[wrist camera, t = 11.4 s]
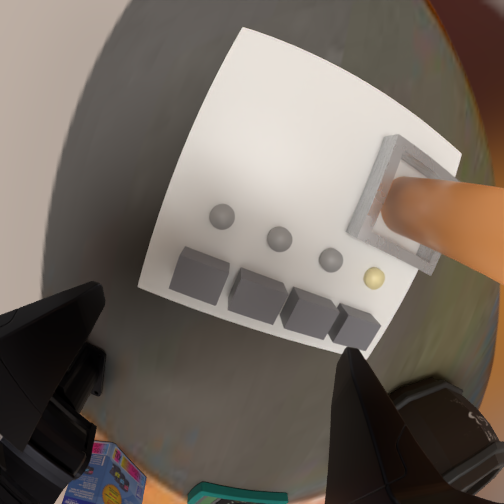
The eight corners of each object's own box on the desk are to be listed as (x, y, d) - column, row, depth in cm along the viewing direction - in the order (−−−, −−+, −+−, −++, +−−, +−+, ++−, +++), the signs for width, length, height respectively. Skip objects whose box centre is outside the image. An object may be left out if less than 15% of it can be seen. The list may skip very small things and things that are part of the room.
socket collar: (417, 267, 20) (430, 275, 18) (345, 231, 19) (356, 238, 17) (450, 185, 18) (466, 187, 16) (384, 136, 17) (398, 133, 15)
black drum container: (327, 472, 30) (352, 556, 15) (347, 395, 25) (403, 519, 10) (429, 439, 31) (467, 503, 16) (469, 356, 26) (538, 428, 11)
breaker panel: (361, 352, 23) (375, 373, 20) (142, 280, 20) (128, 298, 17) (453, 153, 19) (477, 154, 16) (242, 34, 16) (243, 13, 13)
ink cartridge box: (149, 477, 29) (136, 555, 15) (119, 475, 29) (102, 546, 15) (115, 441, 26) (87, 531, 12) (83, 438, 26) (52, 518, 12)
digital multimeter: (268, 505, 33) (270, 517, 31) (186, 492, 31) (185, 506, 28) (290, 490, 32) (293, 504, 29) (200, 477, 29) (199, 493, 26)
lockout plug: (403, 245, 20) (533, 319, 7) (369, 207, 19) (519, 261, 6) (434, 204, 19) (568, 245, 6) (403, 164, 18) (554, 176, 5)
